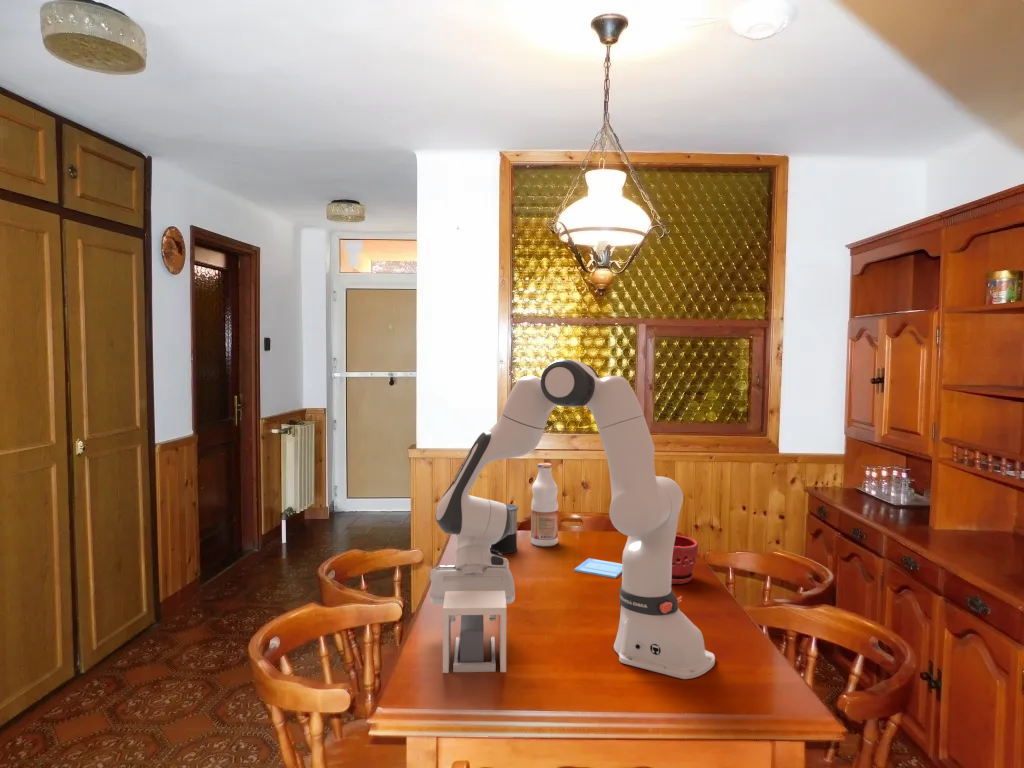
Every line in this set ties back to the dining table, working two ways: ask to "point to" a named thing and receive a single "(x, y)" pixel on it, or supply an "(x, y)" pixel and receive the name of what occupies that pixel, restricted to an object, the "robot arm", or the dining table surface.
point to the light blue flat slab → (600, 568)
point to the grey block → (471, 638)
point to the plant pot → (683, 559)
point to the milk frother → (510, 540)
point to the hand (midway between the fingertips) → (472, 620)
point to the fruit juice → (544, 508)
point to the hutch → (474, 606)
